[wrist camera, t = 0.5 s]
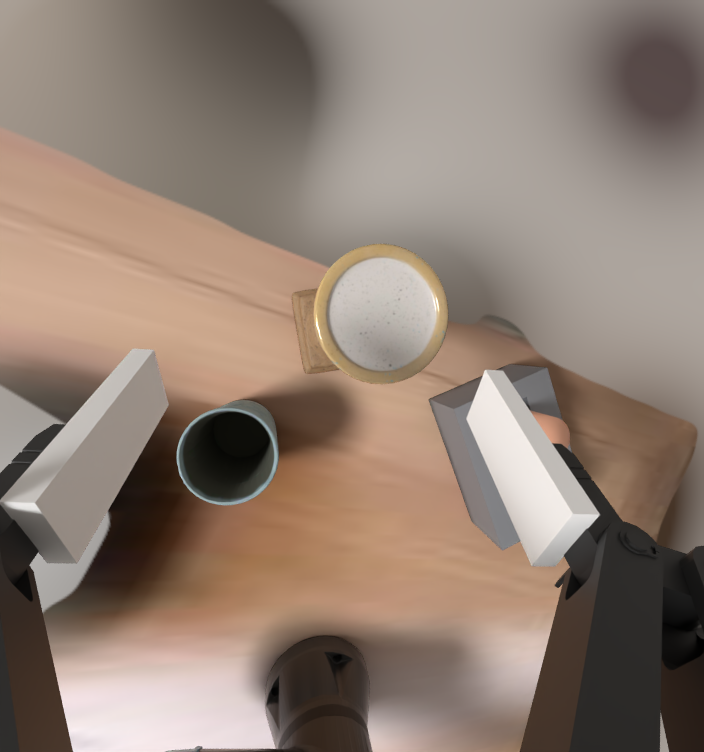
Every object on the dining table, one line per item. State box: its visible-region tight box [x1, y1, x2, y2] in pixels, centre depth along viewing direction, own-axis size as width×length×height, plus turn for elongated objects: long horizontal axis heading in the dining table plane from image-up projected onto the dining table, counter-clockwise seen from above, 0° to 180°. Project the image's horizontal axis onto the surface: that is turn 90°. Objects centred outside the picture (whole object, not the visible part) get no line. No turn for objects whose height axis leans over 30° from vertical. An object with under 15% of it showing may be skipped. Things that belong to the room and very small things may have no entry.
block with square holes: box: [429, 364, 572, 550], centre depth 51 cm, size 21×14×8 cm, turn 21°
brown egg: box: [530, 410, 570, 448], centre depth 43 cm, size 5×5×7 cm
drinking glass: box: [177, 400, 279, 505], centre depth 42 cm, size 10×10×12 cm
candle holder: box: [292, 244, 448, 384], centre depth 37 cm, size 11×11×24 cm
